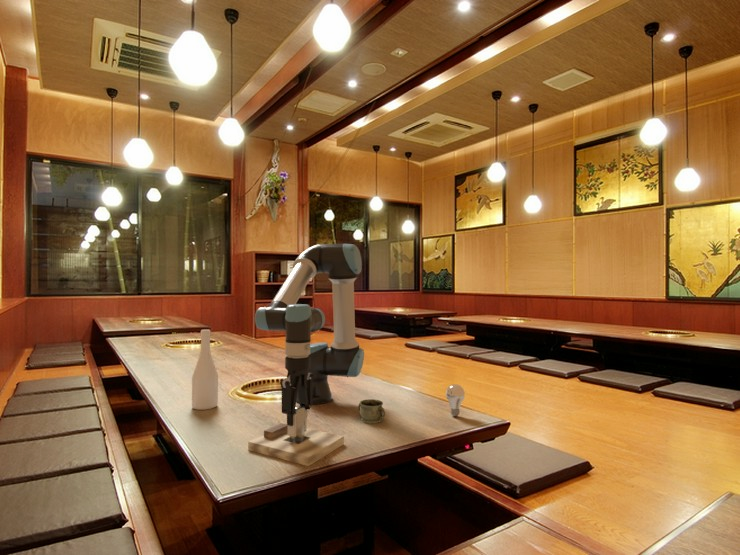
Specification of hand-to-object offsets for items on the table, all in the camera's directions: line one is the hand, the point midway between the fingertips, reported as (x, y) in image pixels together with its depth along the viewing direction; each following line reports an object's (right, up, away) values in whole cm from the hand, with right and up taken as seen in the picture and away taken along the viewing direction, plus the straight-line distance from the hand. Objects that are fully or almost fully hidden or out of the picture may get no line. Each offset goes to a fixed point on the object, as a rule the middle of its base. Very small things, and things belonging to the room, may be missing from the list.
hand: (297, 433), depth 134 cm
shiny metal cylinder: (0, -4, 0) cm, 4 cm away
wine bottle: (-42, -4, +39) cm, 58 cm away
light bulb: (+53, -5, +31) cm, 62 cm away
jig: (0, -4, 0) cm, 4 cm away
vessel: (+22, -5, +26) cm, 35 cm away
